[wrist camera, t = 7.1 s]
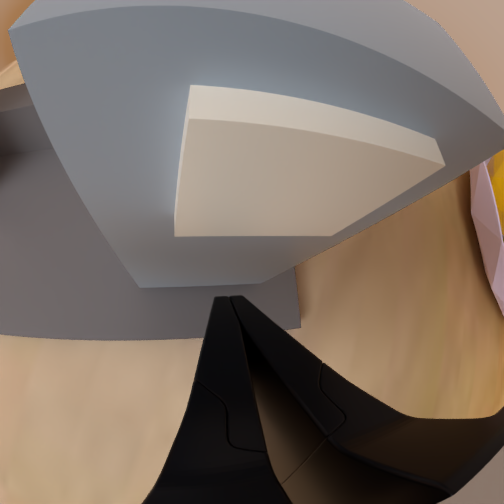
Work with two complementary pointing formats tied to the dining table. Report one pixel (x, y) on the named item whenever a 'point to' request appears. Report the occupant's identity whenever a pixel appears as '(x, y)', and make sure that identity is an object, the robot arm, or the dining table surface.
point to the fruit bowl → (490, 219)
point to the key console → (87, 256)
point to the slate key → (249, 124)
